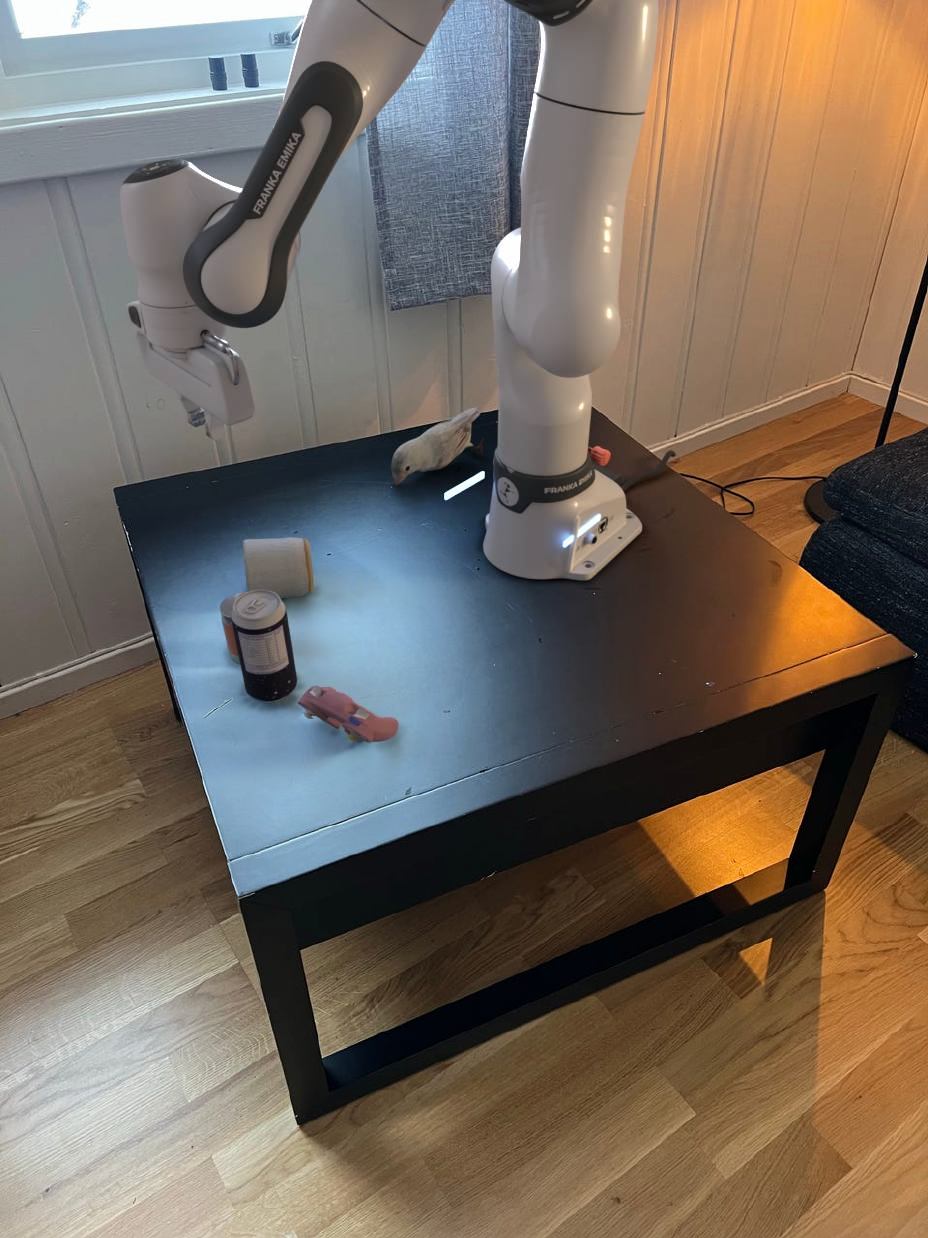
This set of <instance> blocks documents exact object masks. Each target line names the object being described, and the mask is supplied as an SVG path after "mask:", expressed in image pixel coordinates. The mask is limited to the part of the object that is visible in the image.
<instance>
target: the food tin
mask: <svg viewBox="0 0 928 1238" xmlns="http://www.w3.org/2000/svg"><path fill="white" fill-rule="evenodd" d="M244 593H245V592H239V593H233V594H232V595H231V594H230V595H229V596H227V597H226V598H224V599H223V600H222V602H220V606H219V612H220V616H221V619H220V620H221V623H222V628H223V633H224V637H225V643H226V646H227V650H228V654H229V658H230V659H231V661H232V662H233V663H234V664H236V665H238V666H240V661H239V656H238V651H237V646H236V641H235V637H234V632H233V627H232V622H231V613H232V611H233V603H234V601H235V600H236V599H237V598H238V597H239V596H240V595H242V594H244Z"/></svg>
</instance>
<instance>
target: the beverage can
mask: <svg viewBox="0 0 928 1238" xmlns="http://www.w3.org/2000/svg"><path fill="white" fill-rule="evenodd" d="M243 593H244V594H242V595H240V596H239V597H238V598H237V599H236V600H235V601H234V603H233V611H232V613H231V622H232V627H233V632H234V637H235V641H236V646H237V651H238V656H239V661H240V665H239V666H240V671H241V675H242V680H243V684H244V689H245V692H246V694H247V695H248V696H249V697H250V698H252V699H253V700H256V701H259V702H262V703H269V704H270V703H277V702H279V701H282V700H284V699H285V698H287V697H288V696H289V695H290V694H292V693H293V692H294V691H295V689H296V688H297V686H298V676H297V669H296V662H295V655H294V649H293V642H292V637H291V630H290V623H289V617H288V611H287V607H286V605H285V604H284V602H282V598H281V599H280V597H279V596H278V595H277V594H276V593H274V592H272V591H269V590H253V591H249V592H247V591H246V592H243Z"/></svg>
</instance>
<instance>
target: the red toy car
mask: <svg viewBox="0 0 928 1238" xmlns="http://www.w3.org/2000/svg"><path fill="white" fill-rule="evenodd" d="M297 704H298V705H299V706H300V707H301V708H303V710H304V711H305V712H304V711H303V715H304V717H305V718H307V719H308V720H314V717H316V718H318V719H319V720H321V721H323V722H324V723H325V724H327V725H328V726H329V727H332V728H334V729H336V730H340V728H341V727H342V728H343V729H344V730H343V732H344V733H345V734H347V735H348V738H349V740H351V741H353V742H355V741H358V742H361V743H363V742H365V743H368V744H372V743H381V742H385V741H388V740H390V739H391V738H393V737H395V735H396V734H398V730H399V727H400V726H399V721H398V720H397V718H396V717H392V716H379V715H376V714H375V713H373V712H372V711H370V710H369V709H368V708H366V707H364V706H363V705H360V704H358V703H357V702H356V701H354V699H353V698H352V697H350V696H349V695H348V694H346V693H345V692H341V691H337V689H336V688H334V687H333V686H319V685H312V686H310V687H309V688H307V689H306V690H305V691H304V693H303V694H302V695H301V696H300V697H299V699H298V700H297Z"/></svg>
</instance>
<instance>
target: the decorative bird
mask: <svg viewBox="0 0 928 1238" xmlns="http://www.w3.org/2000/svg"><path fill="white" fill-rule="evenodd" d="M480 415H481V412H480V411H479V408H478V406H474V407H470V408H468V409H466V410H464V411H463V412H460V413H458V414H457V415H456V416H455V417H453V418H451V419H447V420H444V421H441V422H440V423H437V424H435V425H433V426H432V427H430V428H429V429H426V431H424V432H423V433H422V434H421V435H420V436H417V437H416V438H413V439H411V440H408V441H406V442H404V443H403V444H401V445H400V446H398V447H397V449H396V450H395V452H394V453H393V456H392V459H391V464H390V469H391V474H392V479H393V481H394V484H395V485H396V486H398V485H400V484H401V483H402V482H403V481H404V480H405V479H406V478H407V477H408V476H409V475H411V474H413V473H414V472H421V473H425V472H430V471H438V470H441V469H444V468H445V467H446V466H448V465H449V464H450V463H451V462H453V460H455V459H456V458H457V457H458V456H459V455H460V454H461V453H463V451H464V450H467V448H469V450H472V449H475V450H474V451H473V453H474V454H475V453H476V457H477V458H479V454H480V456H481V457H484V455H483V441H484V438H482V439H481V440H480V442H479V445H478V446H475V445H474V443H472V442H471V441H472V439H471V437H472V423H473V422H474V421H475V420H476V419H477V418H479V417H480ZM471 447H472V448H471Z"/></svg>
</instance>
